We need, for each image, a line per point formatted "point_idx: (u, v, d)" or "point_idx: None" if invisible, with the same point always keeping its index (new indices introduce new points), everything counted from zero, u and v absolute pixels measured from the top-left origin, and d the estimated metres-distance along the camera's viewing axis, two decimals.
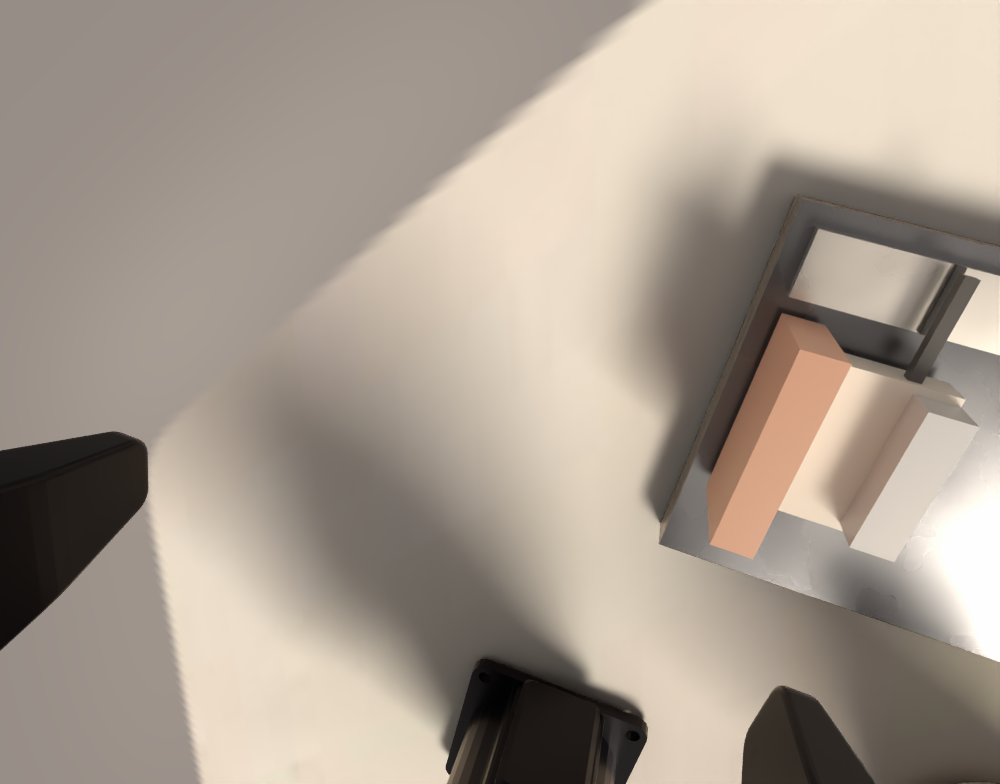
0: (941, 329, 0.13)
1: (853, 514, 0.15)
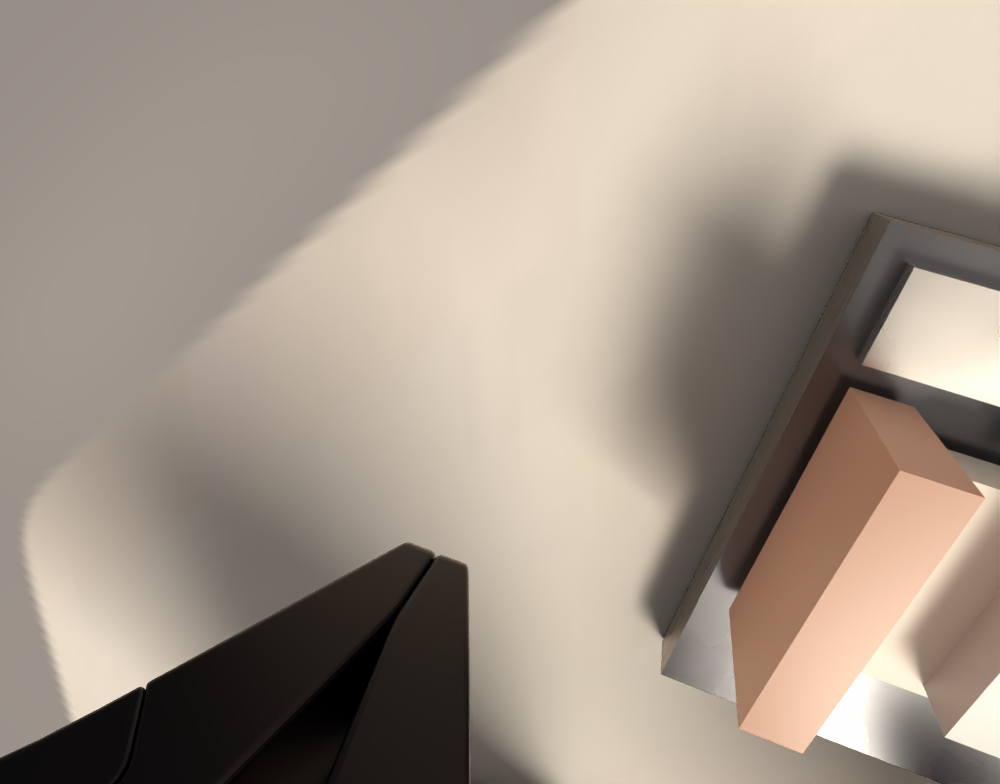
0: None
1: (949, 683, 0.10)
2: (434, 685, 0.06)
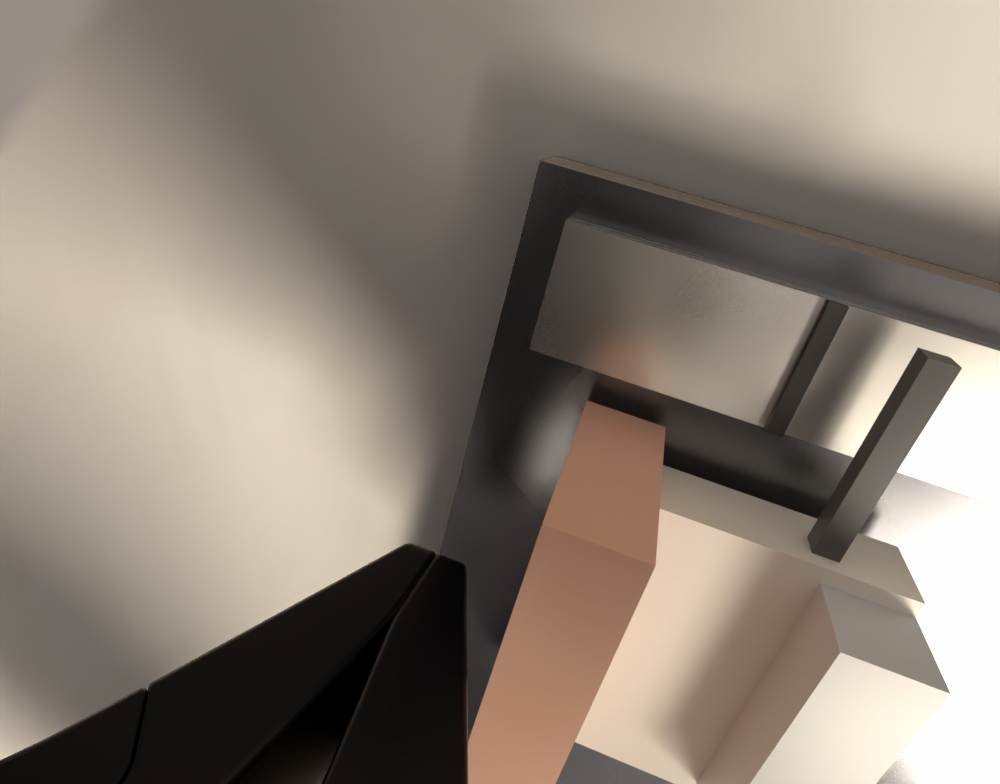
0: (877, 462, 0.06)
1: None
2: (432, 684, 0.06)
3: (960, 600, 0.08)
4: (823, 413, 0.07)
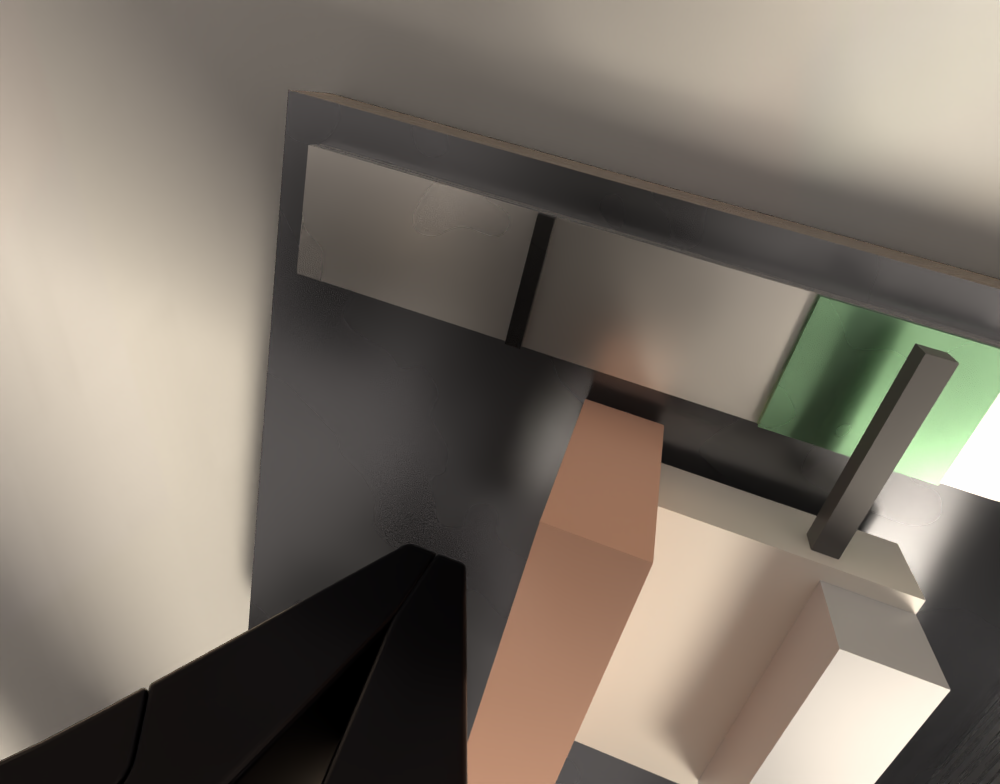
0: (875, 459, 0.06)
1: None
2: (431, 684, 0.06)
3: None
4: (553, 325, 0.08)
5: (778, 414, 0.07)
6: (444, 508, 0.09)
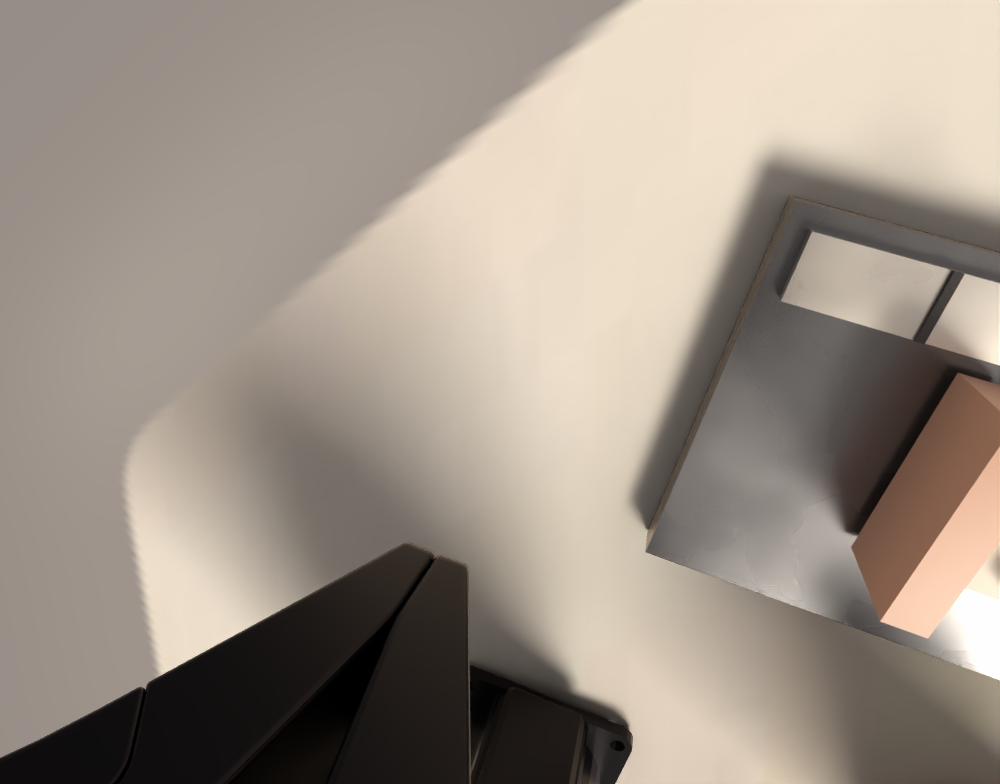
0: None
1: None
2: (434, 685, 0.06)
3: None
4: (947, 331, 0.14)
5: None
6: (833, 442, 0.15)
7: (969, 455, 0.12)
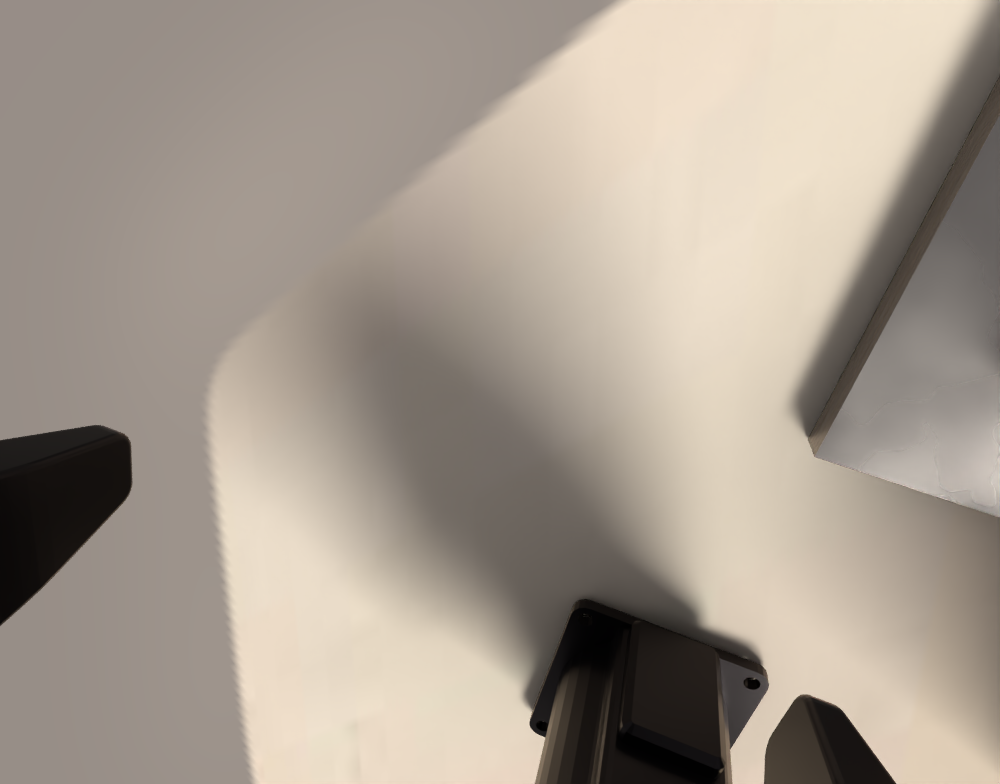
0: None
1: None
2: None
3: None
4: None
5: None
6: None
7: None
